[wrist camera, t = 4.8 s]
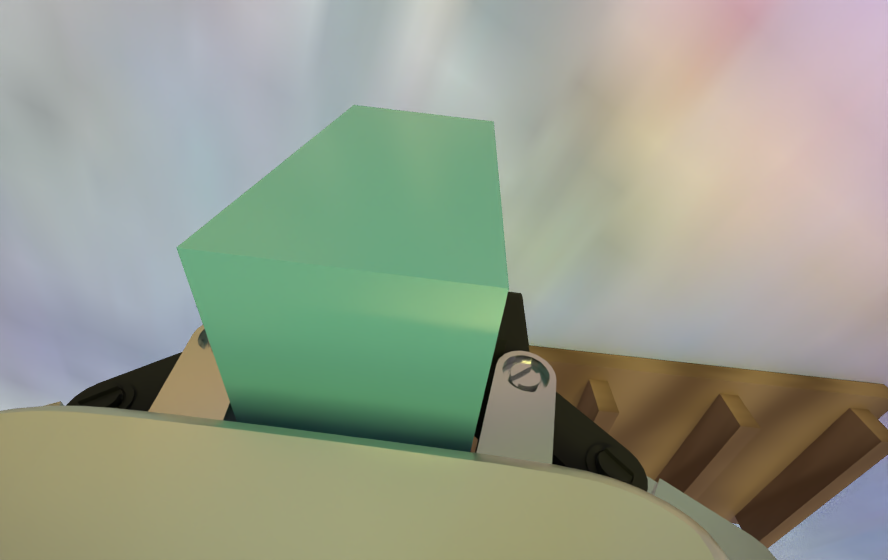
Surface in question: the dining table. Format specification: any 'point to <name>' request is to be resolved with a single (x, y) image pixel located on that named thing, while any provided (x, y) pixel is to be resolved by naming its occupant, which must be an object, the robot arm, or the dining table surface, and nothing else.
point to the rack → (731, 431)
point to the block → (361, 281)
